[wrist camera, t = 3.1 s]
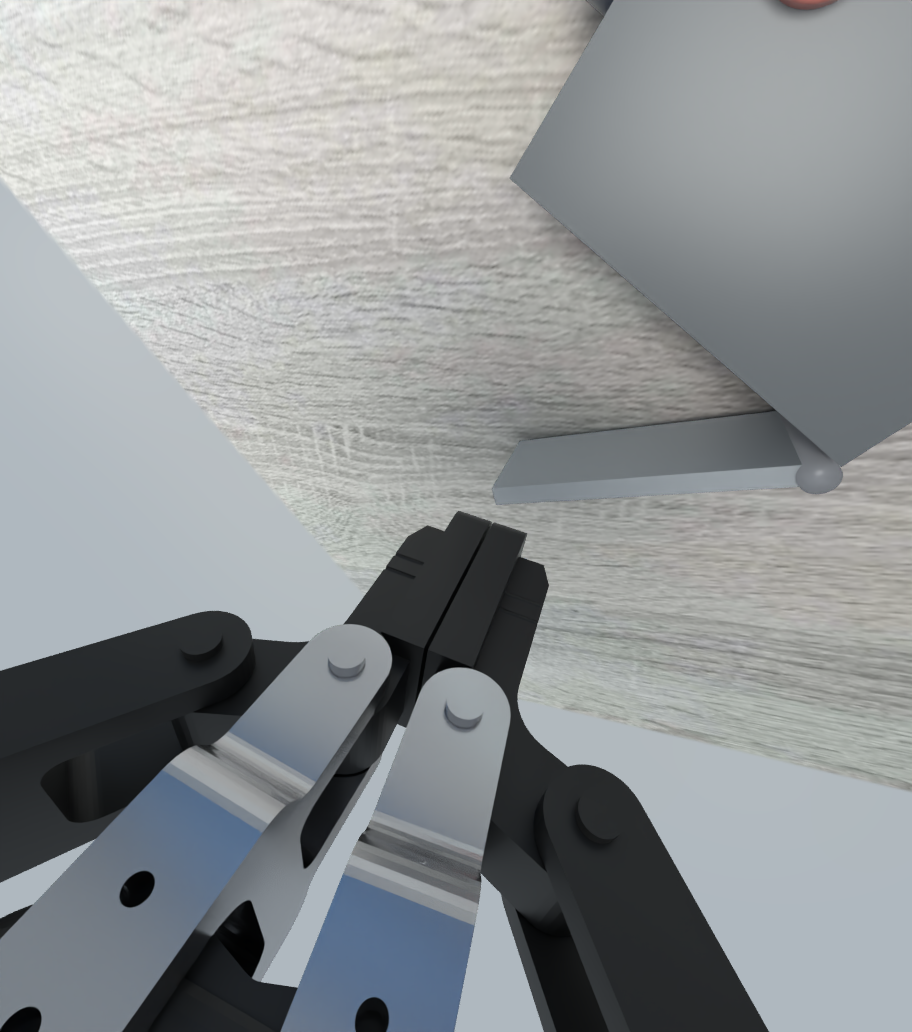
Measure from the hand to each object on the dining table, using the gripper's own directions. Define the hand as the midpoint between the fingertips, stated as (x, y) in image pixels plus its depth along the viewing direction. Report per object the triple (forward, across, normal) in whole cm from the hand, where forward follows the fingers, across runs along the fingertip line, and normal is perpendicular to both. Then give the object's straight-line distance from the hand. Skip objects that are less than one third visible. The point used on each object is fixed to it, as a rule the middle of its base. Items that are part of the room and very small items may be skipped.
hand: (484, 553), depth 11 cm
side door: (+14, -4, +2) cm, 15 cm away
